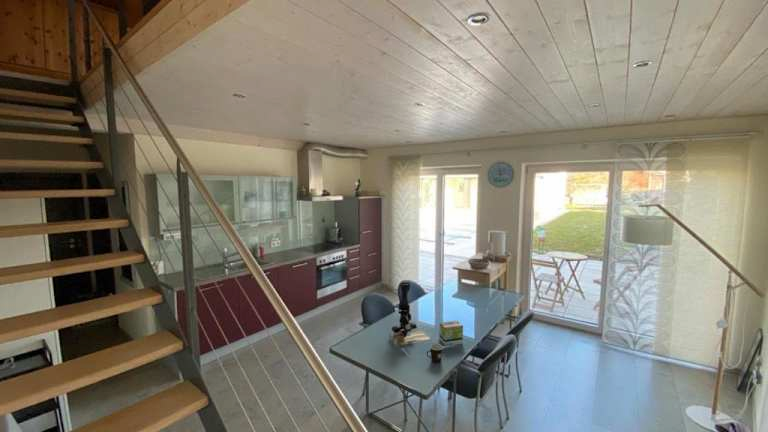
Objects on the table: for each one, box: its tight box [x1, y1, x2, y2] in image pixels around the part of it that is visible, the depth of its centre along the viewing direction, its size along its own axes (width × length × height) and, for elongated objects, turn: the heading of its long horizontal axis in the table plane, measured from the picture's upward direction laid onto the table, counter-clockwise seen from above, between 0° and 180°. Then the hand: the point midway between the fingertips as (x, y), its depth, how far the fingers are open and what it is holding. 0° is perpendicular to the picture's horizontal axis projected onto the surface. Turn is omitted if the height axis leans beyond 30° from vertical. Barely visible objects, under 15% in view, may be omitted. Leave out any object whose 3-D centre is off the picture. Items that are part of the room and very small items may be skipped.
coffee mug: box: [426, 343, 444, 364], centre depth 222 cm, size 12×9×10 cm
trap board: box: [389, 330, 431, 349], centre depth 251 cm, size 15×28×5 cm, turn 112°
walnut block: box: [392, 331, 404, 343], centre depth 247 cm, size 6×6×5 cm
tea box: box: [438, 320, 464, 347], centre depth 247 cm, size 15×10×15 cm
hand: (404, 338), depth 249 cm, fingers closed
